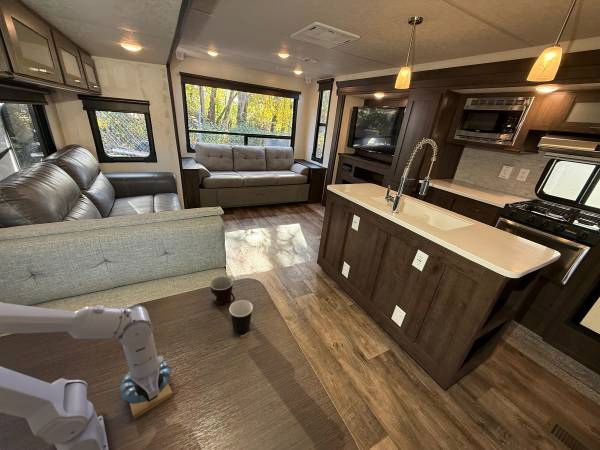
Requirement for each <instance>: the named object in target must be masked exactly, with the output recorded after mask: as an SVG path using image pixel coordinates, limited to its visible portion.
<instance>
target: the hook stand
mask: <svg viewBox="0 0 600 450" xmlns="http://www.w3.org/2000/svg"><path fill="white" fill-rule="evenodd" d="M172 396H173V391H172V387H171V386H170V384H169V383H168V384H167V385H166V386H165V387H164V389H163V390H162V391H161V392H160V394H158V396H157V397H156V398H155V399H153V400H151V401H150V402H148V401H146V402H142V403H136V404H132V403H129V406H130V410H131V414H132V417H133V419H134V420H135V419H136V418H138V417H140V416H141V415H143V414H144V413H146V412H148V411H149V410H151V409H152V408H154V407H156V406H157V405H159V404H161V403H163V402H164V401H165V400H167V399H169V398H170V397H172Z"/></svg>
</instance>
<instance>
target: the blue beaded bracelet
mask: <svg viewBox="0 0 600 450" xmlns="http://www.w3.org/2000/svg"><path fill="white" fill-rule="evenodd" d="M160 373H162V375H163V382H162V384H161V385H160V387H159V393H160V392H161V391H162V390H163V389H164V387H165V386H166V385H167V384H169V381H170V377H171V373H172V369H171V366H169V363H168V362H167V361H165V360H164V363H163V364H161V365H160V367H159V374H160ZM134 386H136V383H135V382H134V381H133V380H132V379H131V378H130V375H129V371H128V372H127V373H126V374H124V376H123V378H122V380H121V383H120V386H119V393H120V396H121V399H122V400H123V401H125V402H127V403H129V404H130V403H132V404H136V403H142V402H146V401H147V400H146V399H145V397H144V396H142V395H138V394H137V393H136V390H135V387H134Z"/></svg>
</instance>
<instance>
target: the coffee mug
mask: <svg viewBox="0 0 600 450" xmlns="http://www.w3.org/2000/svg"><path fill="white" fill-rule="evenodd" d="M209 285H210V286H209V287H210V291H211V296H212V301H213V303H214V305H216V306H217V307H218V306H219V307H224V306H227V305H228V304H229V305H231V304H232V303H234V302H235V301H236V298H235V295H234V293H233V285H234V280H233V279H232V278H231V277H229V276H226V275H225V276H223V275H222V276H217V277H215V278H212V280H210V283H209Z"/></svg>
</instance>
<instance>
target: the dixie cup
mask: <svg viewBox="0 0 600 450" xmlns="http://www.w3.org/2000/svg"><path fill="white" fill-rule="evenodd" d="M253 310H254V305H253V303H252V302H251V301H249V300H245V299H240V300H235V301H233V302H231V303H230V306H229V308H228V311H229V314H230V319H231V323H232V329H233V330H232V331H233V333H234V334H236V335H238V336H239V338H243V337H245V336H247V335H248V334H249V331H250V326H251V319H252V313H253Z"/></svg>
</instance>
